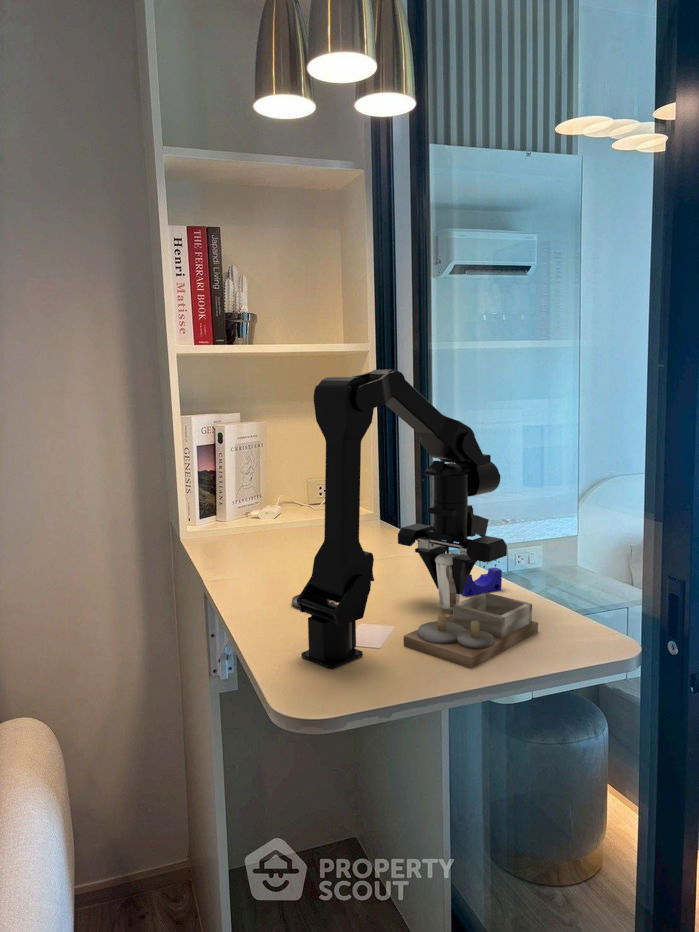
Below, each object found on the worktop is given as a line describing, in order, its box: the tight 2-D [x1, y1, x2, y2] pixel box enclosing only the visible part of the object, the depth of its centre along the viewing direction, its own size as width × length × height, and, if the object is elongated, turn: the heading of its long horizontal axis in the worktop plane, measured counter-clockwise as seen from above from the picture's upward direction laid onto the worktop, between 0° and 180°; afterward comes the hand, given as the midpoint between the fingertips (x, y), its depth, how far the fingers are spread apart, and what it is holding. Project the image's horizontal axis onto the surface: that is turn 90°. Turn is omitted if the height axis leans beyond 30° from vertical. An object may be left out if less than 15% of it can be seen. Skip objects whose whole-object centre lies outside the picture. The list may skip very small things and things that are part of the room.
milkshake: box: [435, 546, 461, 610], centre depth 119 cm, size 4×5×10 cm
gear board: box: [403, 592, 539, 669], centre depth 107 cm, size 18×12×4 cm, turn 136°
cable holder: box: [460, 567, 503, 597], centre depth 130 cm, size 8×4×4 cm, turn 114°
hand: (449, 591), depth 120 cm, fingers closed on milkshake, 4 cm apart
